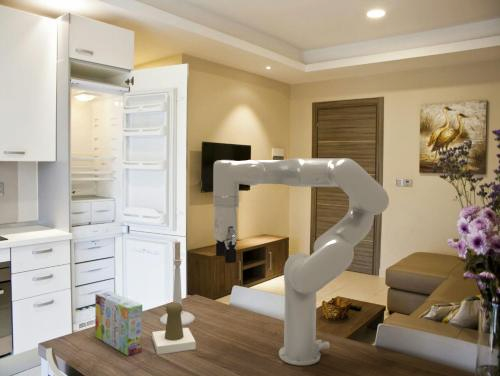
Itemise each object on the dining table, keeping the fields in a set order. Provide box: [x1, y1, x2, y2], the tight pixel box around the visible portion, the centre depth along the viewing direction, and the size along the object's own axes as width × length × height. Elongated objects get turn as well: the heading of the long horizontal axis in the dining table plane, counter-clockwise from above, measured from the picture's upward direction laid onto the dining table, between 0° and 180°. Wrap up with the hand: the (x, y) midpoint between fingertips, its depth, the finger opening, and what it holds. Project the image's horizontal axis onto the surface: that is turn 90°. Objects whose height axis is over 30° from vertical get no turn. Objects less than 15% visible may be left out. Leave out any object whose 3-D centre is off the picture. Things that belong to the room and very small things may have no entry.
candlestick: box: [159, 240, 196, 327], centre depth 158 cm, size 13×13×30 cm
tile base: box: [151, 327, 197, 355], centre depth 137 cm, size 12×12×2 cm
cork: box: [165, 301, 184, 341], centre depth 137 cm, size 6×6×11 cm
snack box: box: [94, 290, 143, 357], centre depth 137 cm, size 21×6×15 cm, turn 47°
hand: (225, 259), depth 126 cm, fingers open, 9 cm apart
